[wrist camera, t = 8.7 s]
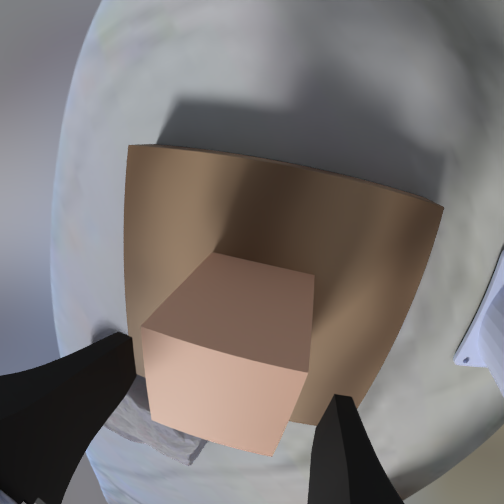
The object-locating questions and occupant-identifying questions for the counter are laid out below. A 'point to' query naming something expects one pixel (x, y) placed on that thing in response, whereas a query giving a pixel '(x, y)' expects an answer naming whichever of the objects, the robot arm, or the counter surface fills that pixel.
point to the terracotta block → (230, 352)
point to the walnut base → (281, 250)
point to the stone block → (151, 427)
